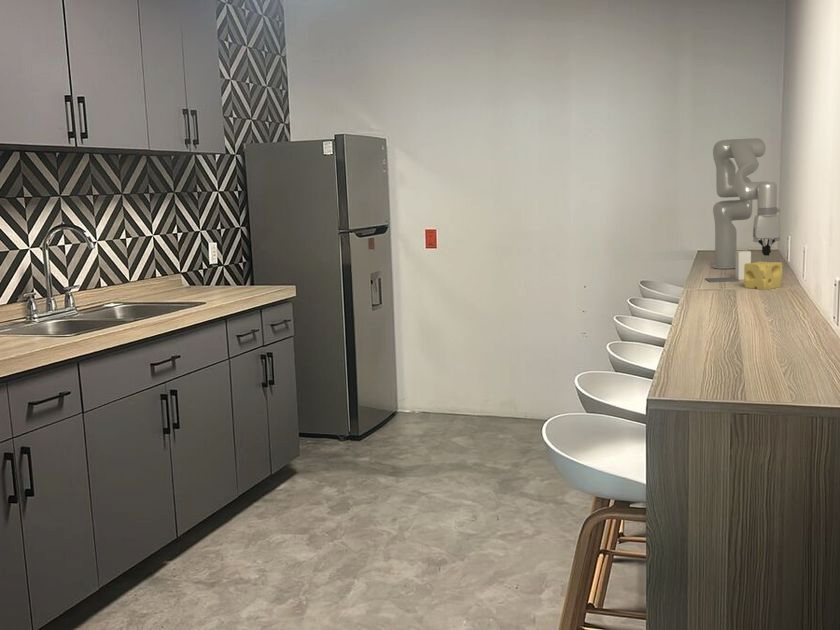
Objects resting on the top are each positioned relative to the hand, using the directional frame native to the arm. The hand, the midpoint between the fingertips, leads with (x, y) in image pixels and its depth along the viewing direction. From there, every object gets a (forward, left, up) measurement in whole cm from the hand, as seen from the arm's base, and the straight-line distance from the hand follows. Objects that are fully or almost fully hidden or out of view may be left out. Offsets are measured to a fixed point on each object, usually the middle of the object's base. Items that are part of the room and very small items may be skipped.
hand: (766, 255), depth 360 cm
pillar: (0, -9, -10) cm, 14 cm away
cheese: (+25, -8, -10) cm, 28 cm away
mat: (0, -18, -10) cm, 21 cm away
